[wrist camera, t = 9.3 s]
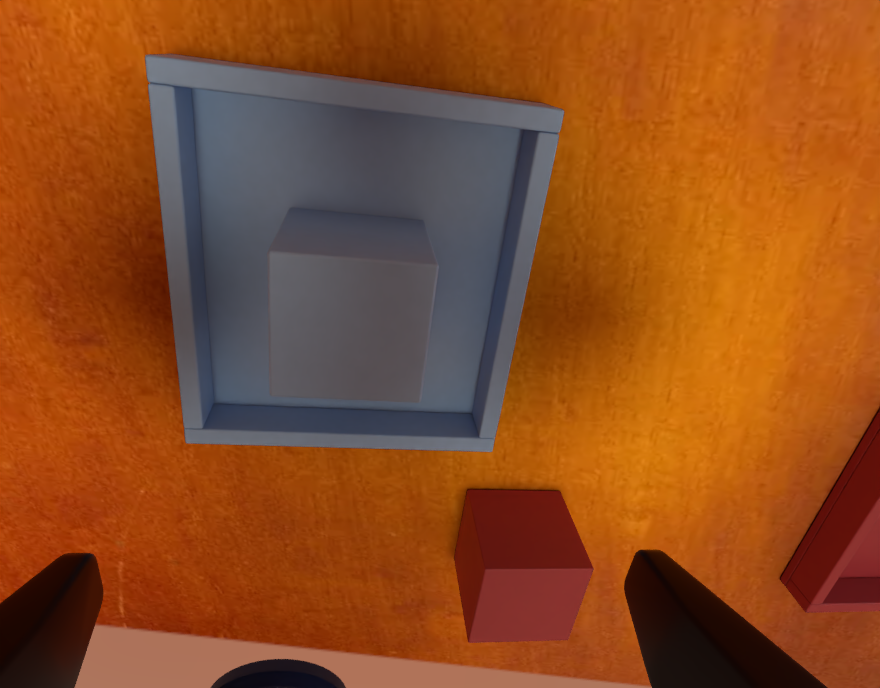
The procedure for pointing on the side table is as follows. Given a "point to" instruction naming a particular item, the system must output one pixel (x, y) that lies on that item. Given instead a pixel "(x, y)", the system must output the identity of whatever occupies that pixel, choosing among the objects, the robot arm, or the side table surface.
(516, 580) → the burgundy block
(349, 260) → the gray block
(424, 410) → the blue tray
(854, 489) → the burgundy tray
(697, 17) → the side table surface
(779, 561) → the side table surface
